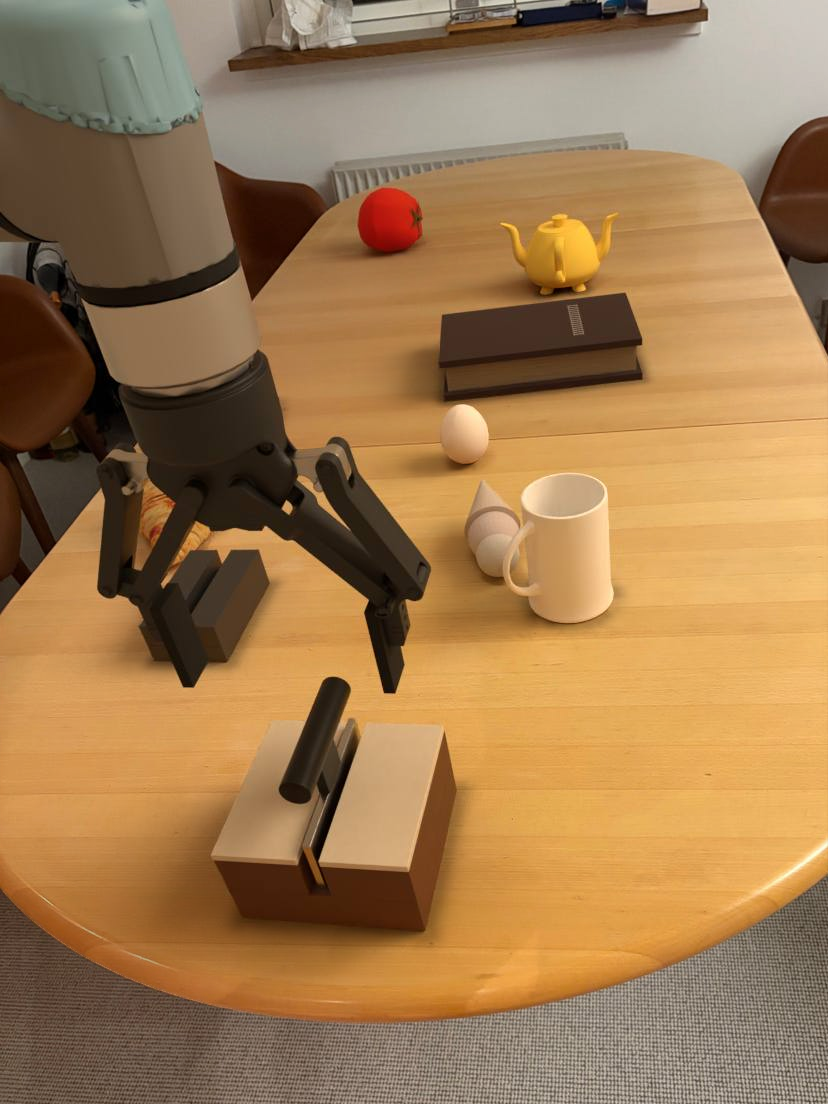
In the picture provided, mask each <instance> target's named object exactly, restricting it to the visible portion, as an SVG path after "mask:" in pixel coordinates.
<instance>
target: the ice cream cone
mask: <svg viewBox="0 0 828 1104" xmlns="http://www.w3.org/2000/svg"><path fill="white" fill-rule="evenodd" d="M479 482H480V483H479V485H478V488H477V490H476V493H475V496H474V499H473V502H472V505H471V507H470V510H469V513H468V515H467V518H466V522H465V524H464V526H463V527H464V528H463V533H464V537H465V539H466V540H467V543H468V546H469V549H470V550H471V552H472V554H473V555H474V556H475V559H476V563H477V565H478V567H479V568H480V570H481V571H482V572H483V573H485V574H486V575H488V576H490V577H493V578H502V577H503V578H504V576H503V560H504V555H505V552H506V550H507V547H508V545H509V543H510V542H511V540H512V539H513V537H514V536H515V534H516V533H517V532H518V531H519V530H520V529H521V525H522V524H521V519H520V517H519V516H518V514H517V513H516V512H515V511H514V510H513V508H511V507H510V506H509V504H507V503H506V502H505V500H503V499H502V497H501V496H500V495H499V494H498V493H497V492H496V491H495V490H494V489H493V488H492V487H491V486H490V485H489V484H488V483H487V482H486V480H484V479H483V478H481V479H480V481H479ZM520 544H521V543H520ZM520 544H519V545H518V547H517V548H516V550H515V552H514V554H513V556H512V559H511V562H510V568H509V573H510V574H512V572H514V571H515V570H516V569H517V567H518V565H519V563H520V559H521V558H520V557H521V551H520V548H519V547H520Z"/></svg>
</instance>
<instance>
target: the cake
mask: <svg viewBox="0 0 828 1104" xmlns="http://www.w3.org/2000/svg"><path fill="white" fill-rule="evenodd" d="M305 723H306V720H294V719H293V720H291V719H289V720H287V719H271V721H270V722H269V725H268V727H267V729H266V732H265V734H264V736H263V738H262V741H261V742H260V744H259V747H258V749H257V752H256V754H255V756H254V758H253V760H252V763H251V764H250V767H249V769H248V772H247V773H246V776H245V777H244V780H243V783H242V785H241V787H240V788H239V791H238V793H237V796H236V798H235V800H234V802H233V805H232V807H231V809H230V811H229V814H228V816H227V818H226V820H225V822H224V825H223V827H222V829H221V831H220V834H219V835H218V838H217V840H216V841H215V843H214V847H213V848H212V851H211V853H210V857H211V859H212V861H213V862H214V864H215V866H216V868H217V871H218V872H219V874H220V876H221V878H222V881H223V882H224V885H225V886H226V888H227V889H228V892H229V895H230V896H231V898H232V900H233V902H234V904H235V906H236V908H237V910H238V912H239V913H240V916H241V917H242V918H246V919H261V920H273V921H285V922H286V921H287V922H299V923H300V922H301V923H313V924H328V925H341V926H353V927H367V928H379V929H380V928H382V929H395V930H408V931H421V932H425V931H426V929H427V926H428V922H429V916H430V912H431V907H432V902H433V898H434V894H435V889H436V885H437V882H438V881H437V880H438V875H439V871H440V867H441V863H442V859H443V858H442V857H443V853H444V850H445V844H446V839H447V836H448V831H449V827H450V822H451V818H452V814H453V808H454V805H455V799H456V795H457V790H458V789H457V786H456V785H457V784H456V780H455V779H456V778H455V775H454V770H453V765H452V764H453V763H452V760H451V755H450V750H449V744H448V740H447V735H446V731H445V726H444V724H430V723H429V724H428V723H427V724H426V723H424V724H423V723H393V722H392V723H391V722H389V723H387V722H365V725H364V728H363V731H362V734H361V739H360V742H359V745H358V748H357V751H356V754H355V756H354V759H353V762H352V765H351V768H350V771H349V774H348V777H347V780H346V783H345V786H344V789H343V791H342V794H341V797H340V800H339V803H338V806H337V809H336V812H335V815H334V818H333V821H332V824H331V826H330V829H329V832H328V835H327V838H326V841H325V844H324V847H323V850H322V853H321V856H320V859H319V865H320V867H321V870H322V872H323V875H324V878H325V880H326V883H327V885H328V887H327V890H324V889H319V888H318V885H317V883H316V880H315V878H314V875H313V873H312V870H311V868H310V865H309V862H308V860H307V857H306V855H305V852H304V850H303V847H302V844H303V842H304V839H305V836H306V833H307V831H308V828H309V825H310V822H311V820H312V817H313V814H314V811H315V809H316V806H317V803H318V800H319V798H320V795H321V793H319V790H318V788H317V785H316V787H315V790H314V792H313V795H312V798H311V800H310V801H309V802H307V803H305V804H294V803H291V802H289V801H287V800H285V799H284V798H283V797H282V796H281V795H280V793H279V786H280V783H281V781H282V778H283V776H284V773H285V771H286V769H287V766H288V764H289V761H290V759H291V756H292V754H293V752H294V749H295V747H296V744H297V742H298V740H299V737H300V735H301V732H302V730H303V727H304V725H305ZM346 724H347V721H340V723H339V725H338V728H337V731H336V733H335V736H334V742H335V745H336V748H338V746H339V743H340V740H341V737H342V735H343V732H344V729H345V726H346Z"/></svg>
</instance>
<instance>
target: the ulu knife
mask: <svg viewBox="0 0 828 1104" xmlns="http://www.w3.org/2000/svg"><path fill="white" fill-rule="evenodd" d="M351 688H352V687H351V686H350V683H349V682H348V681H346V680H345V679H343V678H342V677H339V676H328V677H325V678H324V679H323V680H322V681H321V684H320V686H319V689H318V692H317V694H316V695H315V699H314V701H313V704H312V706H311V708H310V710H309V713H308V716H307V718H306V720H305V721H306V723H305V725H304V727H303V730H302V732H301V735H300V737H299V740H298V742H297V744H296V747H295V749H294V752H293V754H292V756H291V759H290V761H289V764H288V766H287V769H286V771H285V773H284V776H283V778H282V781H281V783H280V786H279V793H280V795H281V796H282V797H283V798H284V799H285V800H287V801H289V802H291V803H294V804H305V803H307V802H309V801H310V800H311V798H312V795H313V792H314V790H315V787H316V785H317V788H318V790H319V793H321V795H320V798H319V800H318V803H317V806H316V809H315V811H314V814H313V817H312V820H311V822H310V825H309V828H308V831H307V833H306V836H305V839H304V842H303V844H302V847H303V850H304V852H305V855H306V857H307V860H308V862H309V865H310V868H311V870H312V873H313V875H314V878H315V880H316V883H317V885H318V888H319V889H324V890H327V887H328V885H327V883H326V880H325V878H324V875H323V872H322V870H321V867H320V865H319V859H320V856H321V853H322V850H323V847H324V844H325V841H326V838H327V835H328V832H329V829H330V826H331V824H332V821H333V818H334V815H335V812H336V809H337V806H338V803H339V800H340V797H341V794H342V791H343V789H344V786H345V783H346V780H347V777H348V774H349V771H350V768H351V765H352V762H353V759H354V756H355V754H356V751H357V748H358V745H359V742H360V739H361V736H362V734H361V732H360V729H359V725H358V721H357V718H355V717H349V718H347V721H346V726H345V729H344V732H343V735H342V737H341V740H340V743H339V746H338V748H336V745H335V742H334V736H335V733H336V731H337V728H338V725H339V723H340V722H341V720H342V717H343V715H344V712H345V709H346V706H347V704H348V700H349V699H350V696H351V693H352V689H351Z"/></svg>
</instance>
